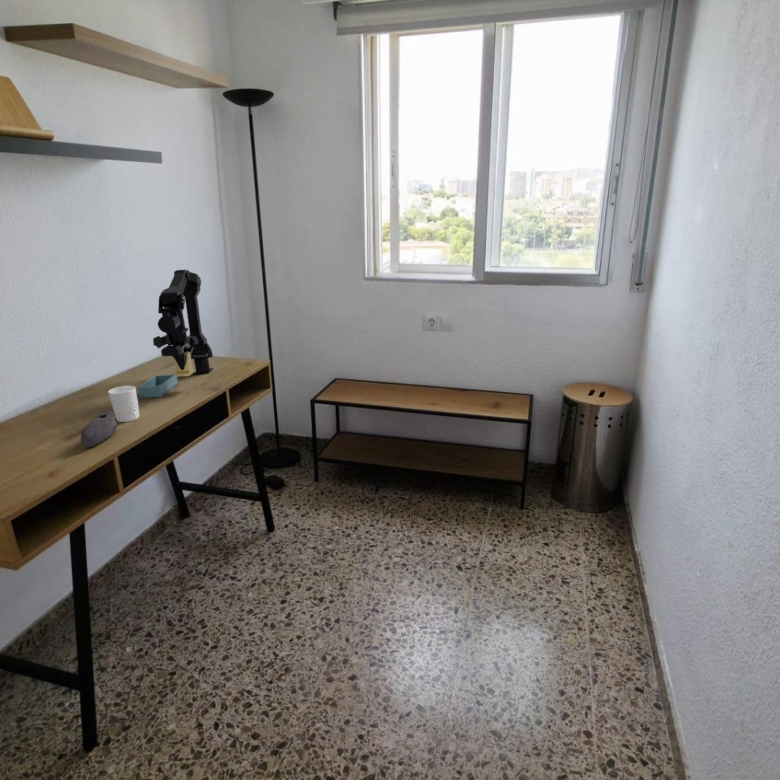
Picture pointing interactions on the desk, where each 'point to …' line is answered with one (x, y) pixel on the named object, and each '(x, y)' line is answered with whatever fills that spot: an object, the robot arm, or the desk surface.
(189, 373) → the brass bracket
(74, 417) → the desk surface
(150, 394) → the blue rectangular open bin
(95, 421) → the perforated stone tool
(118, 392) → the white cup
